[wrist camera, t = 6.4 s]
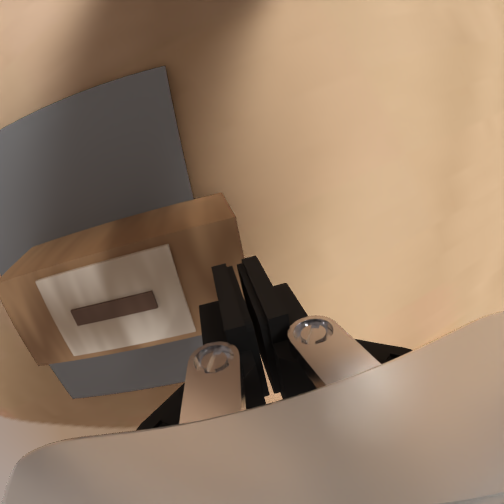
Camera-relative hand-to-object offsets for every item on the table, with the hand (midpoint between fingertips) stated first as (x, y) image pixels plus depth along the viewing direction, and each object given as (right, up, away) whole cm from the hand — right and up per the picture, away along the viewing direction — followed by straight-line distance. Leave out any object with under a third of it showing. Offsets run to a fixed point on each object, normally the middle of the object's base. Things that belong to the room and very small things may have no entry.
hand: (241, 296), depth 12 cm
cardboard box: (0, +2, +4) cm, 4 cm away
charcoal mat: (-9, +1, +6) cm, 11 cm away
